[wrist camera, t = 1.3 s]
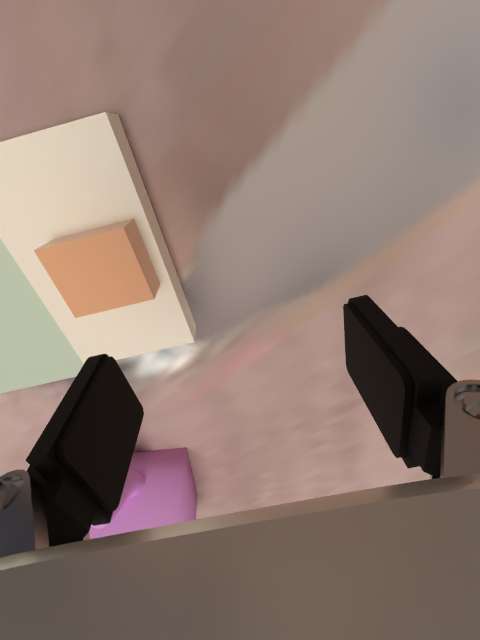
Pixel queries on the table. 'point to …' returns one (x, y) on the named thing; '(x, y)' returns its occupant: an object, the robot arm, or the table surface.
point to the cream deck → (84, 214)
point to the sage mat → (29, 334)
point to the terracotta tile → (100, 268)
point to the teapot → (153, 493)
